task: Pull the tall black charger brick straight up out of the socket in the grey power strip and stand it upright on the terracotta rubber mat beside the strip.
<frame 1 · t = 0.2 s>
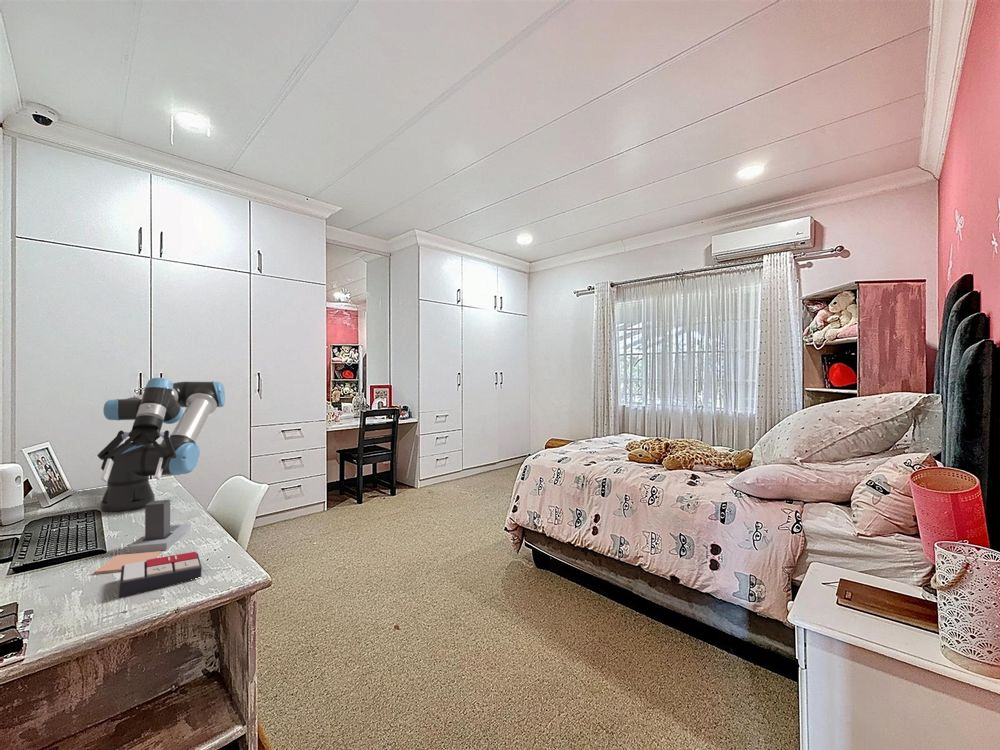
hand: (131, 479, 136), 16 cm above the table, tool tilted 35°, fingers open, 13 cm apart
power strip: (161, 541, 127), on the table
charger: (157, 543, 125), resting in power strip
mat: (129, 563, 113), on the table
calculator: (161, 581, 105), on the table
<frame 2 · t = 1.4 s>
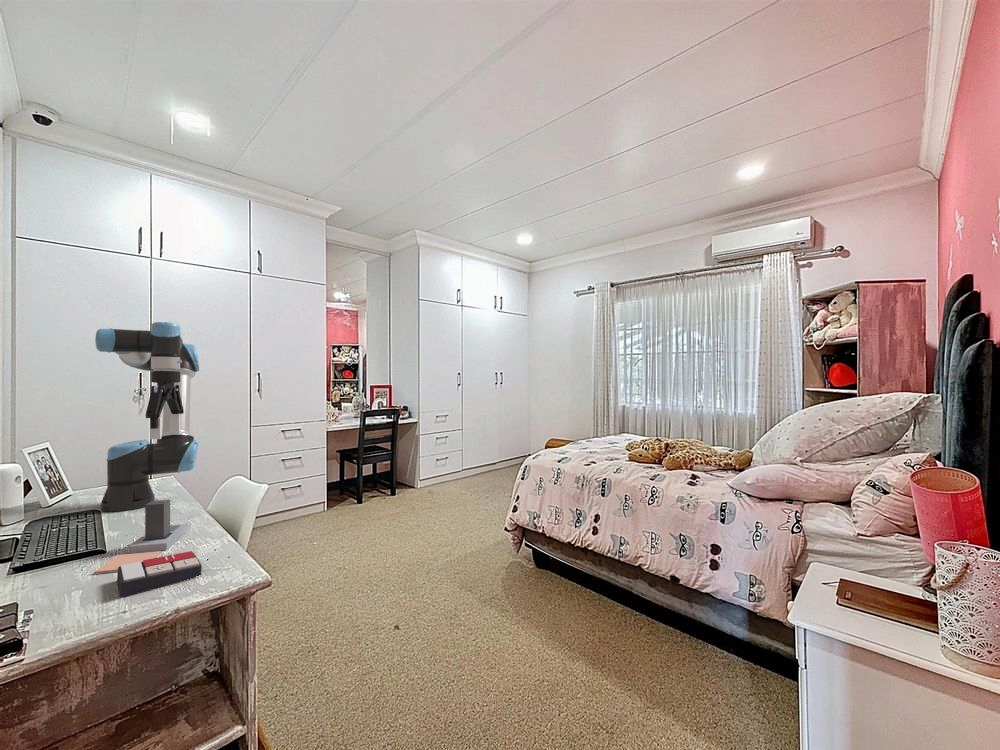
hand: (165, 436, 140), 29 cm above the table, tool pointing down, fingers open, 13 cm apart
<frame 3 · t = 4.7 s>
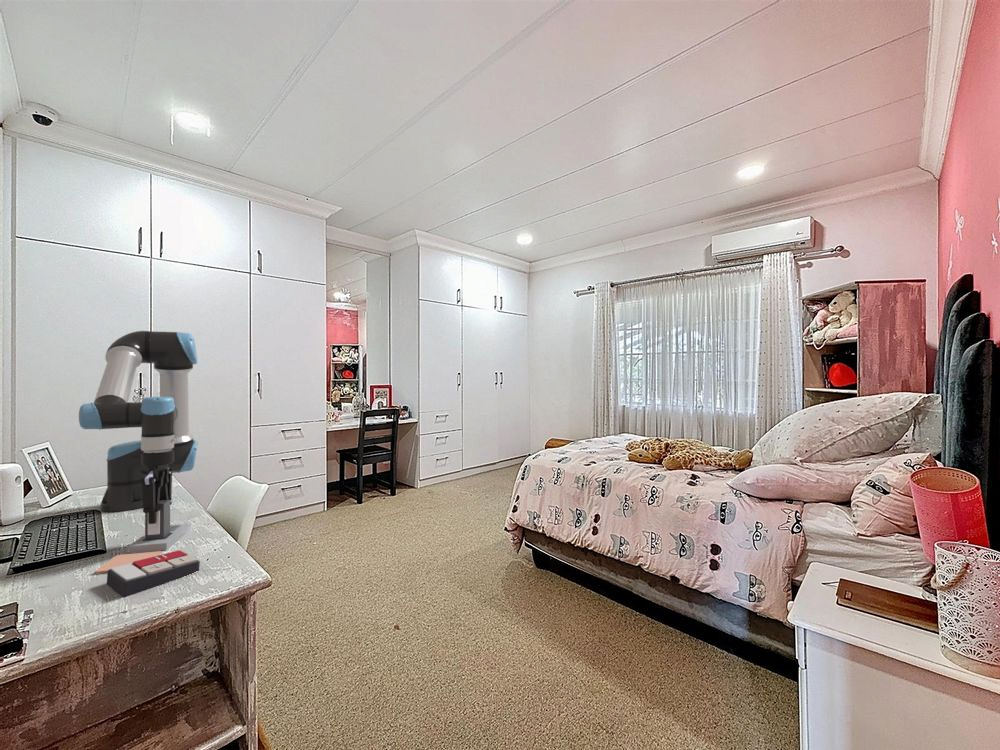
hand: (157, 531, 125), 4 cm above the table, tool pointing down, fingers closed on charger, 4 cm apart
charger: (157, 543, 125), resting in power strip, touching gripper
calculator: (154, 580, 105), on the table
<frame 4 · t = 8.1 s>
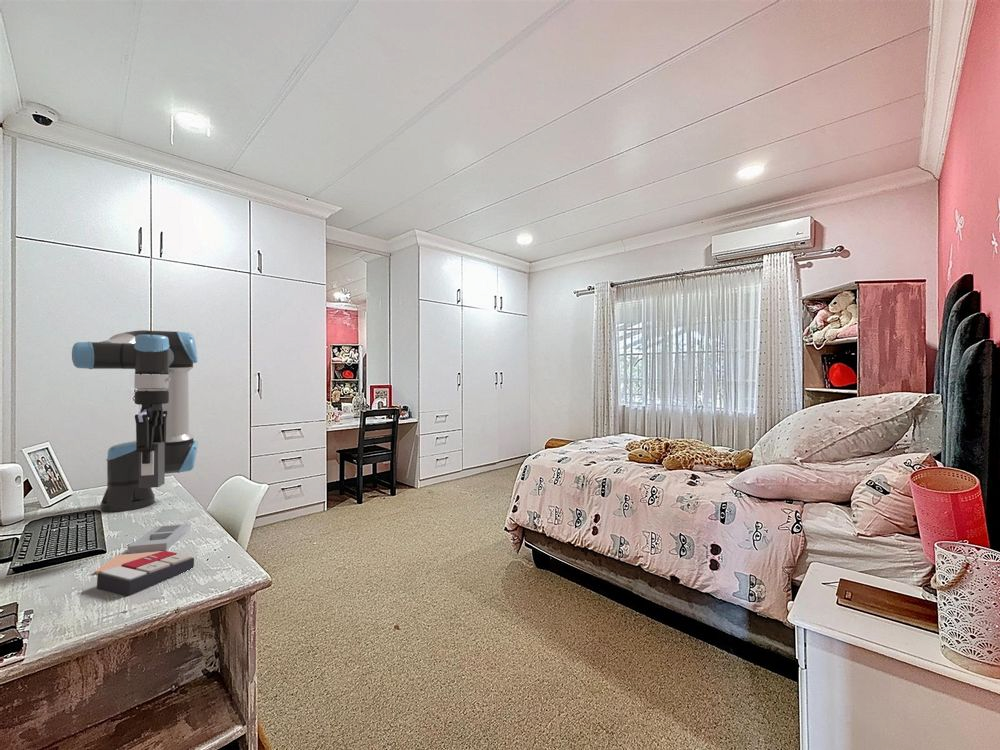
hand: (151, 473, 122), 21 cm above the table, tool pointing down, fingers closed on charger, 4 cm apart
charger: (151, 486, 122), point 18 cm above the table, touching gripper
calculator: (147, 580, 105), on the table
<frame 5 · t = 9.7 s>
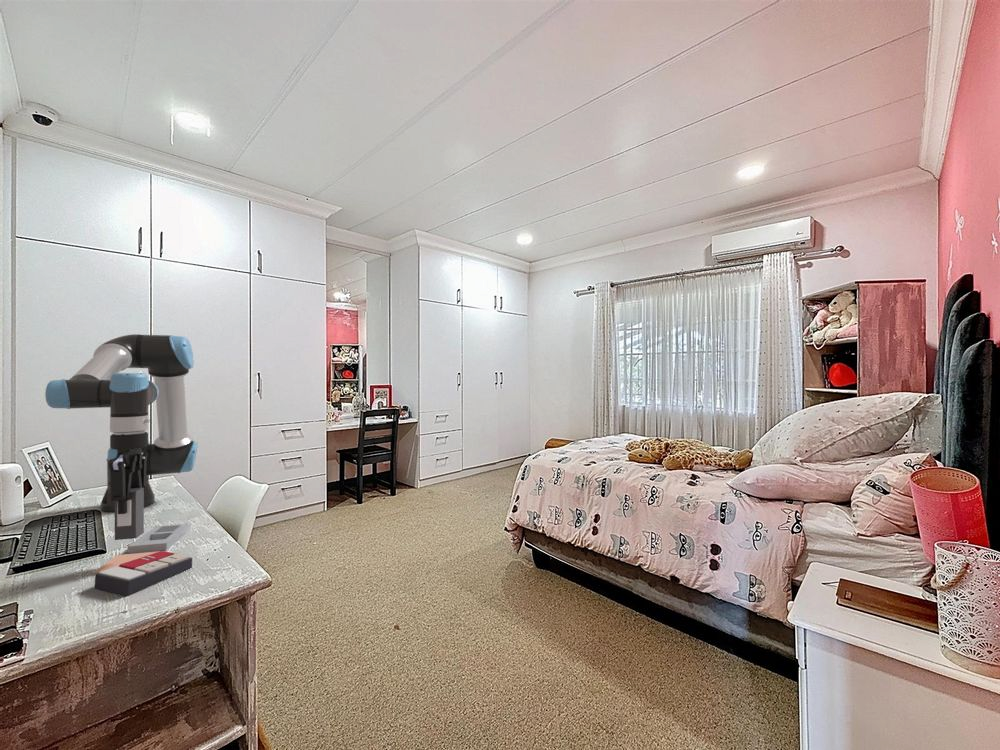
hand: (129, 522, 113), 11 cm above the table, tool pointing down, fingers closed on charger, 4 cm apart
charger: (129, 536, 113), point 7 cm above the table, touching gripper
when the fingers open (6 cm above the table, at t = 11.4 s): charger drops 1 cm, resting on mat.
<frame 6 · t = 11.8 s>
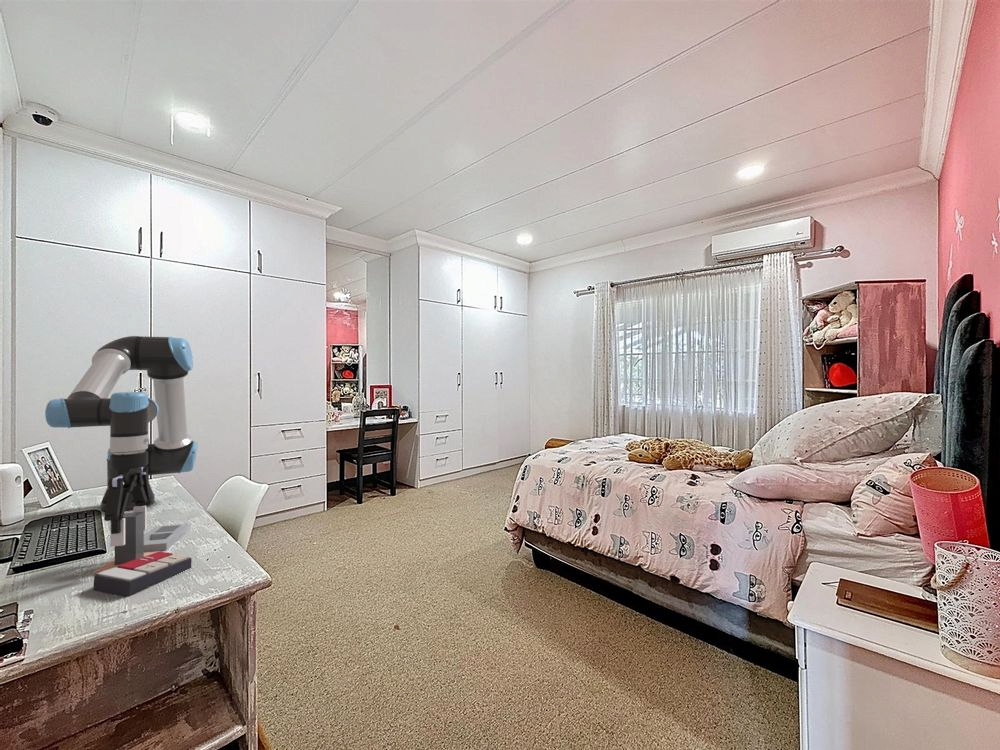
hand: (129, 537, 113), 7 cm above the table, tool pointing down, fingers open, 10 cm apart
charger: (129, 560, 113), point 1 cm above the table, touching mat
everything else where it was.
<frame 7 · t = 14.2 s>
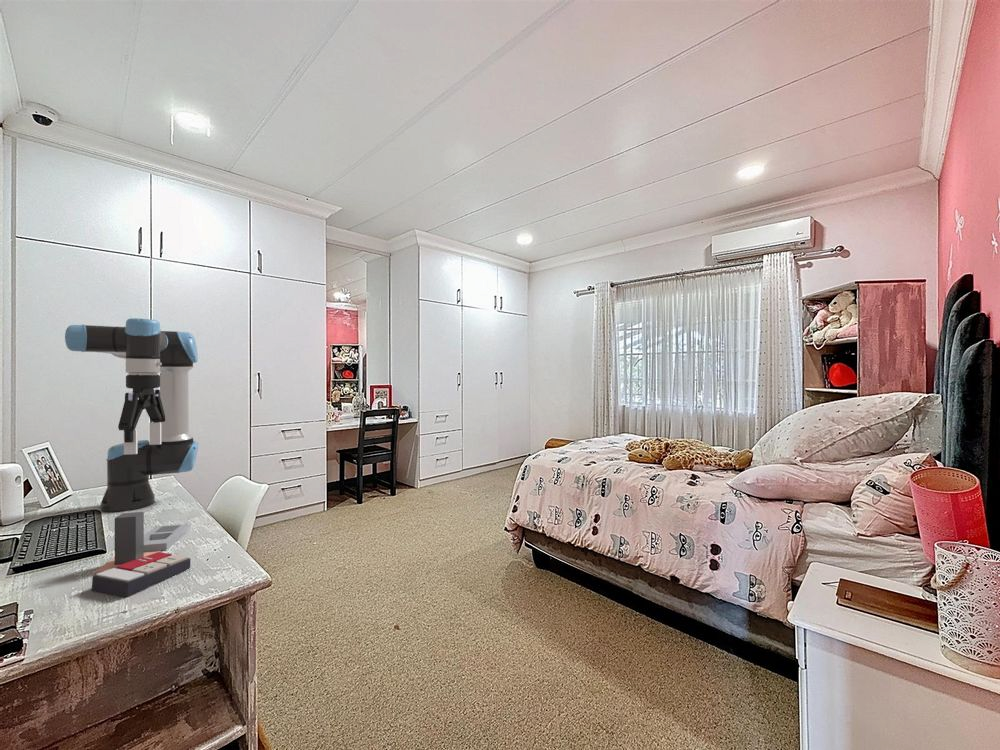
hand: (143, 449, 123), 28 cm above the table, tool pointing down, fingers open, 13 cm apart
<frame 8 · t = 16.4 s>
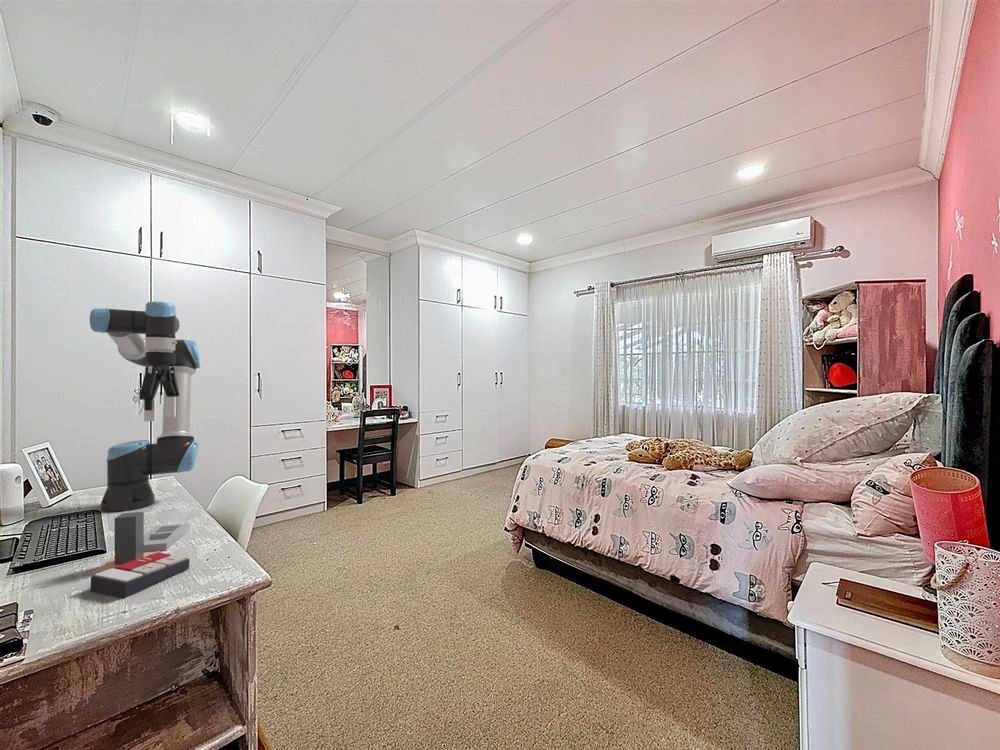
hand: (160, 418, 137), 35 cm above the table, tool pointing down, fingers open, 13 cm apart
at the end: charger inside the target area on the mat (0.0 cm from its centre), point 0.6 cm above the mat's base; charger tilted 0°; the gripper is holding nothing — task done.
